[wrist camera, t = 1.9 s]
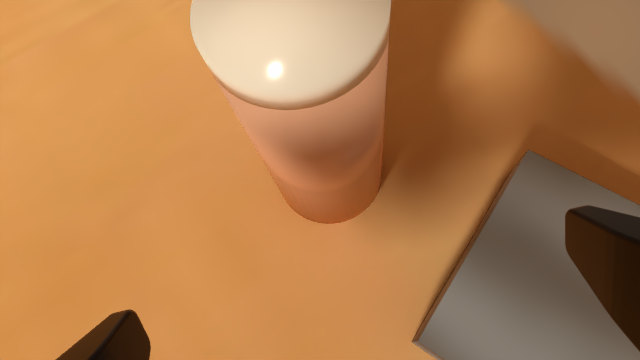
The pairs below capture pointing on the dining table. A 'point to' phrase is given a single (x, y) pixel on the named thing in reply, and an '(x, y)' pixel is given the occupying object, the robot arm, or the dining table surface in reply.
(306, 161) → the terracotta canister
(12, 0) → the dining table surface
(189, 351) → the dining table surface
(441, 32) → the dining table surface
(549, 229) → the riser block
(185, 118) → the dining table surface
